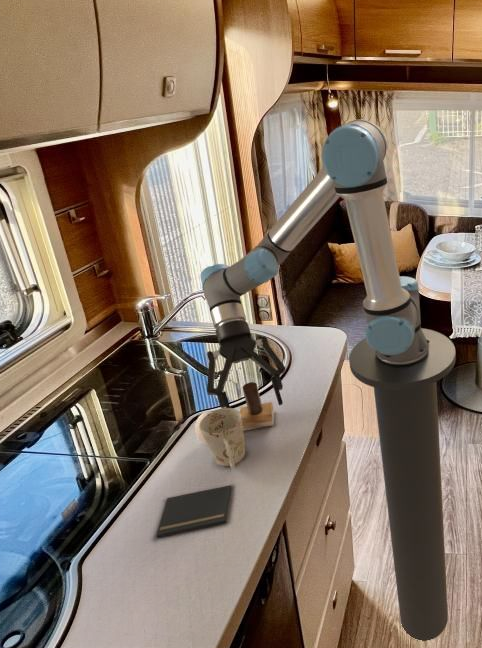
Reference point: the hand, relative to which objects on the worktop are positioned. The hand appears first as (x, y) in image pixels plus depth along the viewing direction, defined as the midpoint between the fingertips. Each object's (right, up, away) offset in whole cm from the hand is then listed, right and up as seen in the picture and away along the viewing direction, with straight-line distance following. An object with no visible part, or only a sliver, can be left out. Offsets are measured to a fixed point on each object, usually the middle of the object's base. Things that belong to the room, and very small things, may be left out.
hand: (256, 411), depth 115 cm
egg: (-9, -7, -1) cm, 12 cm away
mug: (-3, -9, -7) cm, 12 cm away
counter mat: (-5, -15, -19) cm, 25 cm away
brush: (-1, -3, +5) cm, 6 cm away
